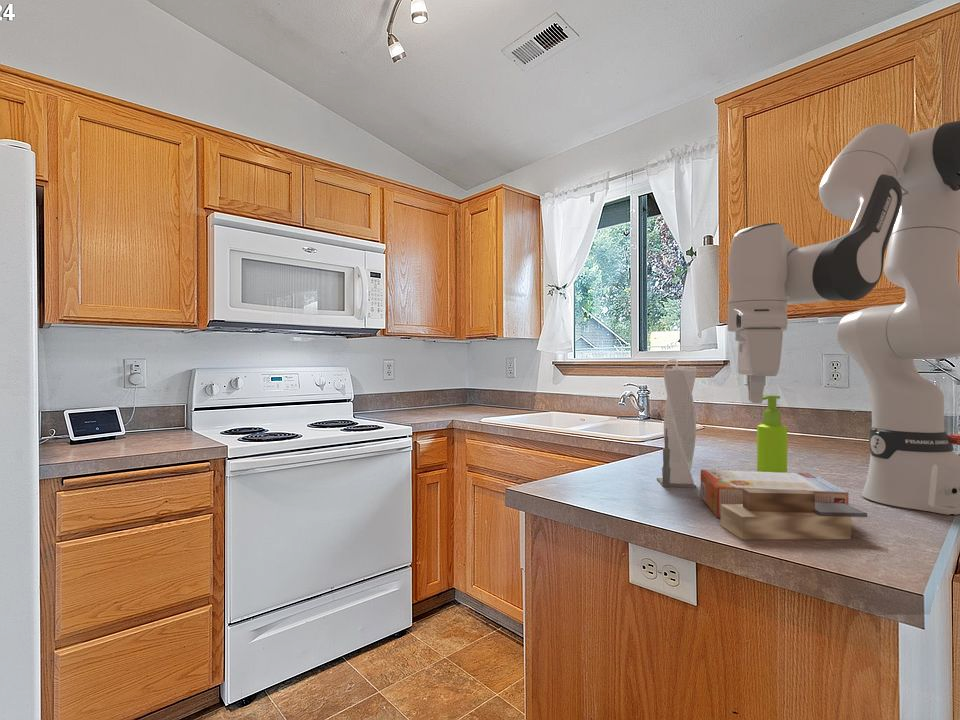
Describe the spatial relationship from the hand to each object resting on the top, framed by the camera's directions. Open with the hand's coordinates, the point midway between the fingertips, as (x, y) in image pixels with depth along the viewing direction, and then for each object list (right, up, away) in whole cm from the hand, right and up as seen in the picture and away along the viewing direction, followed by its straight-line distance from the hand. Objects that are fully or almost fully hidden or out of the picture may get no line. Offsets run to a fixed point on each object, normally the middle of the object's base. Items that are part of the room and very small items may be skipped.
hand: (755, 402), depth 88 cm
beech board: (+3, -21, -4) cm, 21 cm away
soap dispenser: (+18, -21, +29) cm, 40 cm away
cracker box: (-4, -18, +10) cm, 21 cm away
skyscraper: (-2, -21, +30) cm, 37 cm away
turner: (+5, -17, -4) cm, 18 cm away
